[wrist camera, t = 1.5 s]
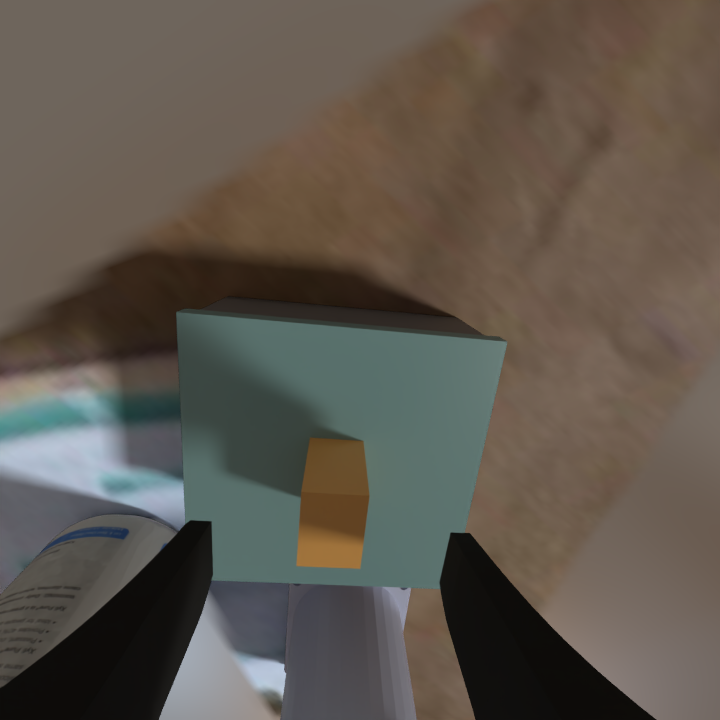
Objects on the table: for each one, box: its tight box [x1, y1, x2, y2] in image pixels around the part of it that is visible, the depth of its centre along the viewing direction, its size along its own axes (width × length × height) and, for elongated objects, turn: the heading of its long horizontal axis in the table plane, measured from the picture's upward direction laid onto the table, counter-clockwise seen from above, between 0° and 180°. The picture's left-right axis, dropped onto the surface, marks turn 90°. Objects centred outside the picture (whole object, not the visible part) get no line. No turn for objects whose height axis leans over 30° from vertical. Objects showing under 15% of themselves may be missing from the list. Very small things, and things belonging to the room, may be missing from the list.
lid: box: [176, 309, 507, 589], centre depth 15 cm, size 12×12×5 cm
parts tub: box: [200, 296, 483, 335], centre depth 19 cm, size 12×12×5 cm
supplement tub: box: [0, 514, 177, 688], centre depth 17 cm, size 10×10×15 cm
